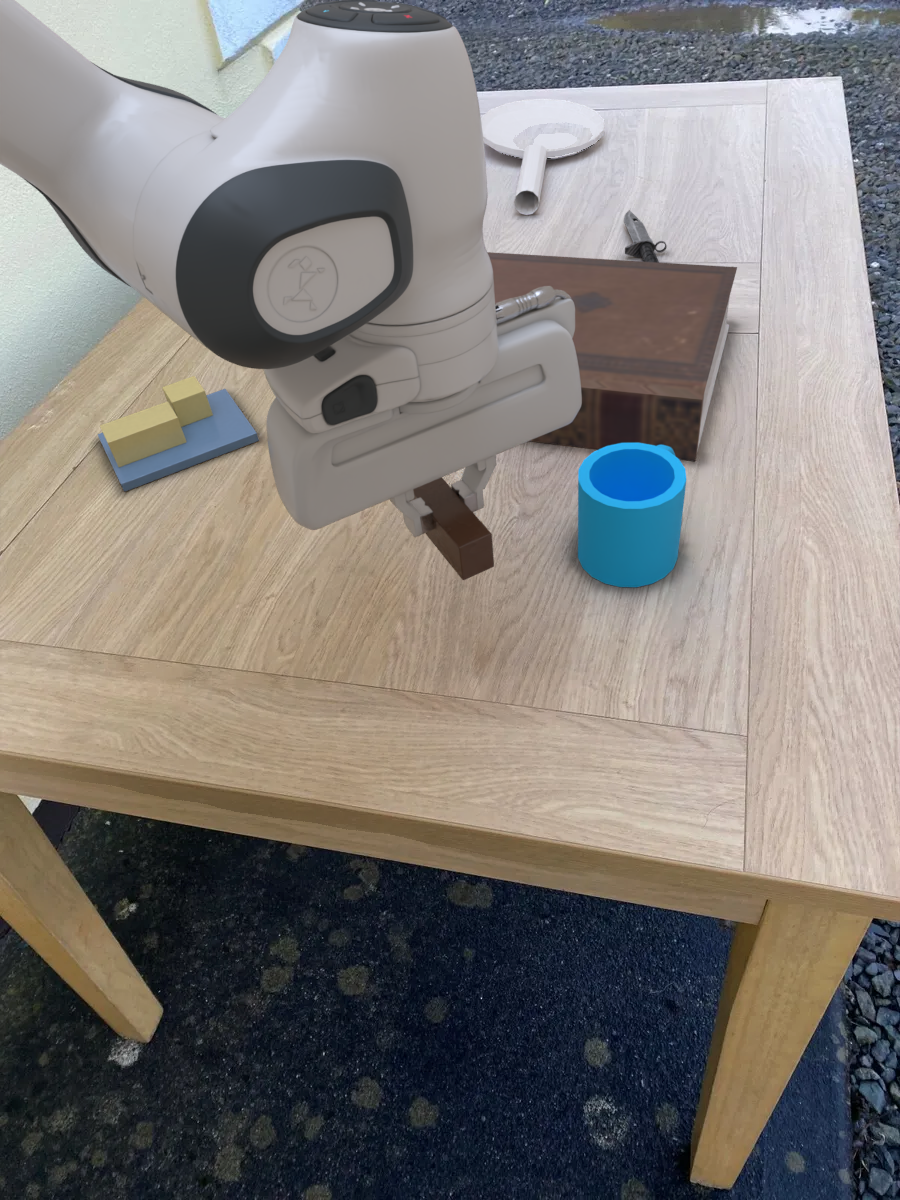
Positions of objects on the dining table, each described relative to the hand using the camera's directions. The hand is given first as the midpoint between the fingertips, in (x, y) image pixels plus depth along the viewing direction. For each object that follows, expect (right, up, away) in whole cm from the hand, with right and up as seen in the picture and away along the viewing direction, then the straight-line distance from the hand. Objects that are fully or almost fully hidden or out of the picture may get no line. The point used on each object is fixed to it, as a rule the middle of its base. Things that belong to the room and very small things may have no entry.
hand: (444, 518), depth 61 cm
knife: (+24, +37, +51) cm, 68 cm away
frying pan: (+13, +59, +73) cm, 95 cm away
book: (+13, +18, +33) cm, 40 cm away
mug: (+16, 0, +15) cm, 22 cm away
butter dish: (-27, +11, +32) cm, 43 cm away
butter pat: (-26, +14, +33) cm, 45 cm away
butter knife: (-2, +2, +5) cm, 6 cm away
